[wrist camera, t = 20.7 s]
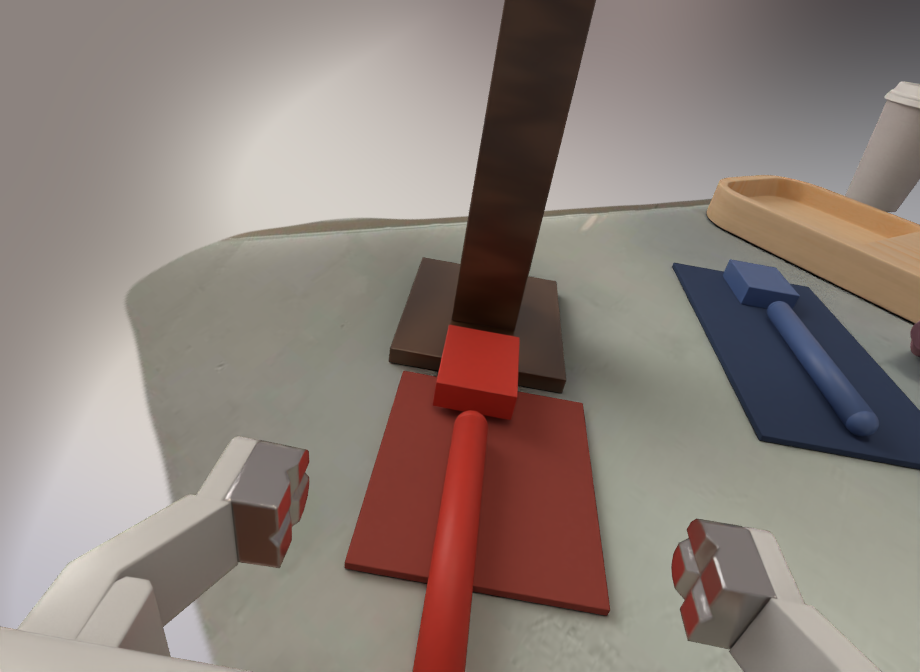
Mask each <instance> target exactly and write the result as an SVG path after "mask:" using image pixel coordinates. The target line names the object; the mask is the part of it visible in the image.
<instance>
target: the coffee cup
mask: <svg viewBox="0 0 920 672" xmlns="http://www.w3.org/2000/svg"><path fill="white" fill-rule="evenodd" d="M884 98H885V99H887V101H886V104H885V106H884V108H883V111H882V113H881V115H880V118H879V120H878V122H877V125H876V127H875V129H874V132H873V134H872V136H871V138H870V141H869V143H868V145H867V147H866V150H865V152H864V154H863V157H862V159H861V161H860V163H859V166H858V168H857V170H856V172H855V175H854V177H853V179H852V181H851V184H850V186H849V188H848V191H847V193H846V195H845V196H846V197H848V198H851V199H853V200H856V201H859V202H861V203H864V204H867V205H869V206H872V207H874V208H877V209H880V210H882V211H885V212H896V211H897V209H898V208H899V207H900V205H901V204H902V203H903V201H904V200H905V198H906V197H907V196H908V194H909V193H910V192H911V190H912V189H913V188H914V186H915V185H916V183H917V182H918V180H919V179H920V84H915V83H910V82H900V83H899V84H898V85H897V87H896V88H895V89H892V90H891V91H890V92H889V93H887V94H886V96H885V97H884Z"/></svg>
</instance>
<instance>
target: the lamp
mask: <svg viewBox="0 0 920 672" xmlns="http://www.w3.org/2000/svg"><path fill="white" fill-rule="evenodd" d="M707 216H708V217H709V219H710V220H711V221H712V222H713V223H715V224H716V225H717V226H719V227H720V228H722V229H724V230H726V231H728V232H730V233H732V234H734V235H736V236H738V237H740V238H742V239H744V240H746V241H748V242H750V243H752V244H754V245H756V246H758V247H760V248H762V249H764V250H766V251H768V252H770V253H772V254H774V255H776V256H778V257H780V258H782V259H784V260H786V261H788V262H790V263H792V264H794V265H796V266H798V267H801V268H803V269H805V270H807V271H809V272H811V273H813V274H815V275H817V276H819V277H821V278H823V279H825V280H827V281H829V282H831V283H833V284H835V285H837V286H839V287H841V288H843V289H845V290H847V291H849V292H851V293H853V294H855V295H857V296H859V297H861V298H863V299H865V300H867V301H869V302H872V303H874V304H876V305H878V306H880V307H882V308H884V309H886V310H888V311H890V312H892V313H894V314H896V315H898V316H900V317H902V318H904V319H906V320H908V321H910V322H912V323H914V324H916V323H917V322H918V321H919V320H920V225H919V224H916V223H914V222H911V221H908V220H906V219H903V218H900V217H898V216H895V215H893V214H890V213H888V212H885V211H882V210H880V209H877V208H874V207H872V206H869V205H867V204H864V203H861V202H859V201H856V200H853V199H851V198H848V197H846V196H843V195H840V194H838V193H835V192H832V191H830V190H827V189H824V188H822V187H819V186H816V185H813V184H809V183H806V182H802V181H799V180H795V179H790V178H785V177H779V176H772V175H756V176H743V177H731V178H724V179H722V180H720V181H719V184H718V186H717V188H716V191H715V193H714V196H713V198H712V200H711V203H710V205H709V207H708V210H707Z"/></svg>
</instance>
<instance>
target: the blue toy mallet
mask: <svg viewBox="0 0 920 672" xmlns="http://www.w3.org/2000/svg"><path fill="white" fill-rule="evenodd" d="M723 277H724V279H725V280H726V282H727V283H728V285H729V287H730V288H731V290H732V291H733V293H734V294H735V296H736V297H737V299H738V300H739V302H740V303H741V304H743V305H749V306H754V307H760V308H765V309H767V315H768V317H769V319H770V320H771V322H772V323H773V324H774V326H775V327H776V329H777V330H778V332H779V333H780V334H781V336H782V337H783V339H784V340H785V341H786V343H787V344H788V346H789V347H790V349H791V350H792V351H793V353H794V354H795V356H796V357H797V358H798V360H799V361H800V363H801V364H802V366H803V367H804V368H805V370H806V371H807V373H808V374H809V375H810V377H811V378H812V380H813V381H814V383H815V384H816V385H817V387H818V388H819V390H820V391H821V392H822V394H823V395H824V397H825V398H826V400H827V401H828V402H829V404H830V405H831V407H832V408H833V410H834V411H835V412H836V414H837V415H838V417H839V418H840V419H841V421H842V422H843V424H844V425H845V427H846V428H847V429H848V430H849V431H850V432H851V433H853V434H854V435H857V436H869V435H871V434H873V433H875V432H876V431H877V429H878V427H879V420H878V418H877V416H876V415H875V413H874V412H873V411H872V410H871V408H870V407H869V406H868V404H867V403H866V402H865V401H864V399H863V398H862V397H861V396H860V394H859V393H858V392H857V391H856V389H855V388H854V387H853V386H852V384H851V383H850V382H849V380H848V379H847V378H846V377H845V375H844V374H843V373H842V372H841V370H840V369H839V368H838V367H837V365H836V364H835V363H834V362H833V360H832V359H831V358H830V357H829V355H828V354H827V353H826V351H825V350H824V349H823V348H822V346H821V345H820V344H819V343H818V341H817V340H816V339H815V338H814V336H813V335H812V334H811V333H810V331H809V330H808V329H807V327H806V326H805V325H804V324H803V322H802V321H801V320H800V319H799V317H798V316H797V315H796V314H795V312H794V311H793V310H792V309H793V307H794V306H795V304H796V302H797V300H798V299H799V297H800V295H799V294H798V293H797V292H796V291H795V290H794V288H793V287H792V286H791V285H790V284H789V283H788V281H787V280H786V279H785V278H784V277H783V275H782V274H781V273H780V272H779V271H778V270H777V268H775V267H769V266H764V265H758V264H753V263H747V262H742V261H736V260H729V262H728V265H727V267H726V269H725V271H724V273H723Z"/></svg>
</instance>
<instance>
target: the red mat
mask: <svg viewBox="0 0 920 672" xmlns="http://www.w3.org/2000/svg"><path fill="white" fill-rule="evenodd" d="M436 381H437V377H435V376H430V375H424V374H419V373H413V372H408V371H403V374H402V377H401V380H400V383H399V387H398V390H397V393H396V396H395V400H394V403H393V406H392V409H391V413H390V416H389V419H388V423H387V426H386V429H385V432H384V436H383V439H382V442H381V445H380V449H379V452H378V455H377V459H376V462H375V465H374V468H373V472H372V475H371V478H370V481H369V485H368V488H367V491H366V494H365V498H364V501H363V504H362V508H361V511H360V514H359V517H358V521H357V524H356V527H355V530H354V534H353V537H352V540H351V544H350V547H349V550H348V553H347V557H346V560H345V568H346V569H351V570H357V571H362V572H368V573H373V574H379V575H384V576H390V577H395V578H401V579H407V580H412V581H418V582H423V583H428V577H429V571H430V565H431V559H432V553H433V547H434V541H435V535H436V529H437V523H438V517H439V511H440V505H441V499H442V493H443V487H444V481H445V475H446V469H447V463H448V457H449V451H450V445H451V439H452V433H453V427H454V423H455V420H456V418H457V417H458V416H459V415H460V414H461V413H463V412H464V411H459V410H453V409H448V408H442V407H437V406H433V399H434V393H435V386H436ZM483 416H484V417H485V419H486V421H487V424H488V434H487V445H486V455H485V466H484V476H483V486H482V497H481V507H480V518H479V528H478V539H477V549H476V559H475V570H474V580H473V592H478V593H484V594H490V595H495V596H501V597H506V598H512V599H517V600H523V601H528V602H534V603H539V604H545V605H550V606H556V607H562V608H567V609H573V610H578V611H584V612H589V613H595V614H600V615H606V616H607V615H608V613H609V612H610V605H609V597H608V590H607V582H606V575H605V567H604V560H603V552H602V545H601V537H600V530H599V522H598V515H597V507H596V500H595V492H594V485H593V477H592V470H591V462H590V455H589V447H588V440H587V432H586V425H585V417H584V410H583V403H579V402H573V401H568V400H562V399H557V398H551V397H546V396H540V395H535V394H529V393H524V392H518V396H517V401H516V404H515V408H514V411H513V415H512V418H511V420H507V419H502V418H497V417H491V416H486V415H483Z"/></svg>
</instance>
